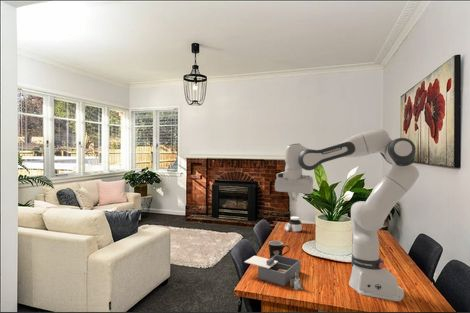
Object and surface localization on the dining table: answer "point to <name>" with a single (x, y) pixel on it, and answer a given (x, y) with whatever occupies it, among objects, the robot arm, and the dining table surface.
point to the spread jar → (294, 225)
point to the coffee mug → (276, 248)
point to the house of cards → (296, 282)
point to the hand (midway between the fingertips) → (293, 201)
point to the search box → (279, 277)
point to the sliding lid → (261, 262)
